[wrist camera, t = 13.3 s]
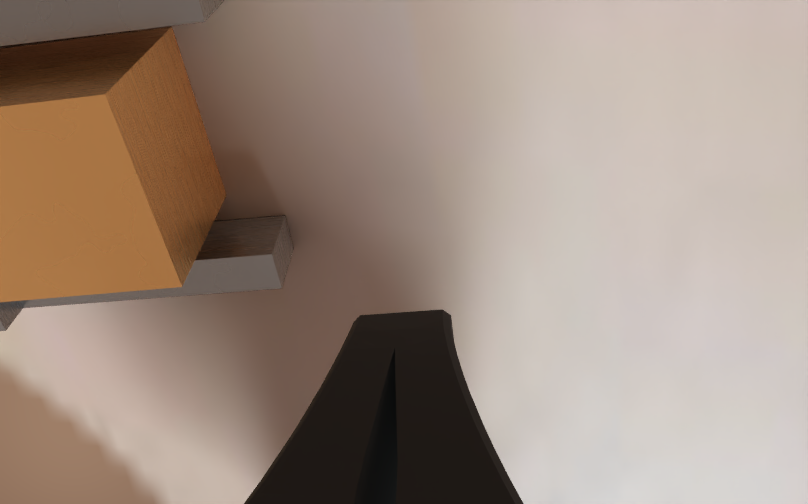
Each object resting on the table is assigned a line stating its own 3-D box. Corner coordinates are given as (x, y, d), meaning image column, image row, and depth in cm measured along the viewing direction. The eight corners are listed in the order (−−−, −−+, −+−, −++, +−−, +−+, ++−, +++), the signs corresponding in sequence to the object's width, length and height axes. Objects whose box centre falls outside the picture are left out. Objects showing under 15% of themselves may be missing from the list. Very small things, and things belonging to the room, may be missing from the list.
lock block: (173, 25, 18) (104, 94, 14) (227, 193, 21) (182, 286, 17) (-43, 52, 19) (-161, 125, 15) (38, 211, 21) (-45, 306, 18)
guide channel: (213, -56, 17) (174, -23, 14) (293, 248, 22) (274, 311, 19) (-151, -8, 18) (-246, 31, 15) (6, 271, 23) (-46, 334, 20)
